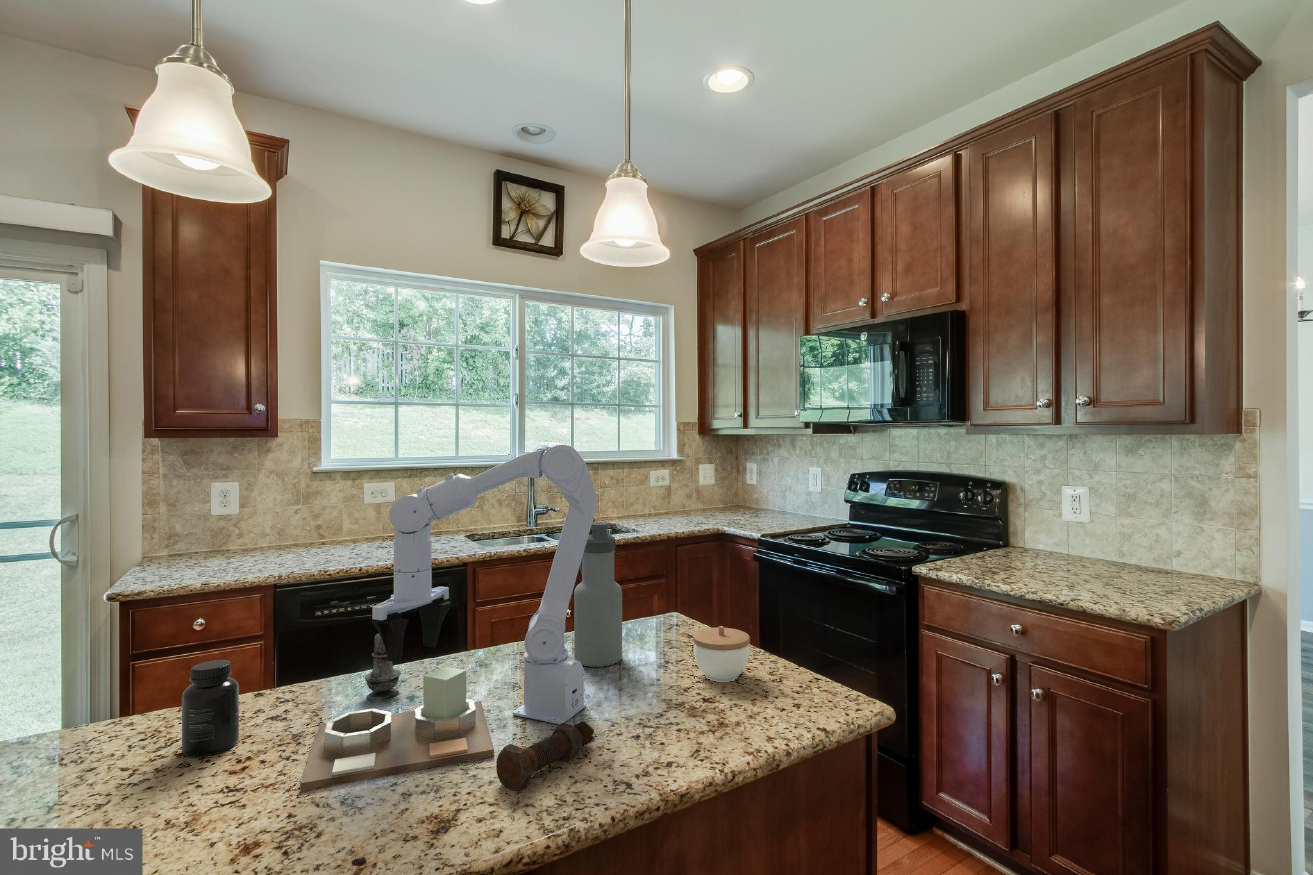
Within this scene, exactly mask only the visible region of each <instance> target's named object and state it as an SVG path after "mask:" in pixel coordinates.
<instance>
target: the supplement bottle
mask: <svg viewBox="0 0 1313 875" xmlns="http://www.w3.org/2000/svg"><path fill="white" fill-rule="evenodd" d="M231 664H232V663H231V661H230V660H228V659H214V660H209V661H204V662H200V663H198V664H195V665H193V666H192V667H191V668H190V677H189V682H190V683H192V684H189V685H188V686H187V687H186V689H185V690H184V691H183V693H182V694H181V752H182V753H183V755H185V756H186V757H188V758H189V757H190V758H201V757H202V758H204V757H207V756H213V755H217V754H219V753H222V752H224V751H226V750H229V749H230V748H232V747H233V746H234V745H236V744H237V742H238V741H239V738H240V737H239V734H240V731H239V729H240V718H239V717H240V716H239V715H240V712H239V711H240V709H239V708H240V702H239V701H240V697H239V696H240V694H239V693H240V692H239V691H240V687H239V682H238V681H237V680H236V679H235V678H233V677H230V676H231V675H232V669H231V668H232V666H231Z"/></svg>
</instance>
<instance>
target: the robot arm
mask: <svg viewBox="0 0 1313 875" xmlns="http://www.w3.org/2000/svg"><path fill="white" fill-rule="evenodd" d="M543 475H544V476H545V477H546V479H547V480H548V481H550V482H551V483H552V484H553V485H554V486H556V487H557V488H558V489H559V490H560V492H561V494H562V496H563V497H564V499H565V500H566V502H567V503H568V508H567V512H566V515H565V518H564V522H563V526H562V530H561V533H560V536H559V540H558V542H557V547H556V550H555V554H554V557H553V560H552V564H551V568H550V571H549V575H548V578H547V582H546V584H545V585H546V586H545V589H544V592H543V595H542V598H541V601H540V606H539V607H538V609H537V611H536V612H535V613H534V614H533V615H532V616H531V618H530V620H529V623H528V630H527V632H526V634H525V637H524V650H525V652H524V653H523V704H522V705H521V706H519V707H517V708H516V709H514V710H513V711H512V715H513V716H517V717H523V718H527V719H532V720H536V721H543V722H546V723H550V724H555V725H559V724H561V723H567V721H568V720H570V719H571V718H572V717H574V716H575V715H576V714H578V713H579V712H580V711H581V710H583V709H584V708H585V707H587V703H586V702H585V683H584V682H585V673H584V666H583V665H582V664H581V662H579V661H577V660H575V658H572V657H571V656H570V655H569V651H568V649H567V648H566V647H565V642H566V641H565V632H566V620H567V619H566V618H567V616H568V615H567V614H568V610H569V604H570V601H571V598H572V594H573V591H574V589H575V588H574V587H575V584H576V581H577V576H578V573H579V571H580V563H581V560H582V556H583V553H584V549H585V546H586V542H587V539H588V535H589V532H590V528H591V525H592V522H594V517H595V514H596V510H597V507H598V503H599V502H598V501H599V497H598V495H597V492H596V489H595V486H594V483H593V481H592V477H591V475H590V471H589V468H588V465H587V463H586V461H585V460H584V459H583V457H582V456H581V455H580V453H579V452H578V451H577V450H576V448H574V447H573V446H571V445H568V444H564V443H563V444H555V445H553V446H550V447H549V448H542V449H538V450H534V451H530V452H527V453H522V454H520V455H518V456H515V457H514V458H511V459H510V460H507V461H505V462H502V463H500V464H498V465H496V466H494V467H492V468H490V469H487V470H485V471H483V472H481V473H479V474H477V475H475V476H472V477H471V476H468V475H465V474H462V473H458V474H456V475H455V474H454V473H452V472H451V473H448V474H446V475H444V476H443V478H444V480H442V481H439V482H436V483H434V484H432V485H430V486H428V487H424V486H421V487H417V488H416V493H414V494H407V495H403V496H401V497H400V498H399V499H397V500H396V501H394V503H393V504H392V506H391V507H390V509H389V513H388V515H389V516H388V517H389V521H390V523H391V525H392V527H393V530H394V533H393V535H394V536H393V594H391V595H390V598H388V599H387V600H385V601H383V602H380V603H378V604H376V605H373V606H372V610H371V611H372V614H371V615H372V618H371V623H372V625H373V626H374V628H375V629H376V631H377V632H378V633H379V634H380V636H381V638H382V641H383V644H384V646H385V650H386V653H387V657H388V661H392V663H393V662H394V663H400V662H402V659H403V655H404V654H403V651H404V638H405V633H406V628H407V625H408V622H409V618H404V617H401V615H399V614H401V613H403V612H407V611H410V610H413V609H418V613H419V616H420V620H421V621H420V622H421V629H422V630H421V631H422V634H421V636H422V643H423V646H424V647H427V648H434V649H435V648H436V647H437V644H438V640H439V636H440V632H441V630H442V626H443V623H444V621H445V618H446V616H447V614H448V612H449V611H450V609H451V601H449V600H448V599H450V597H449V596H450V592H449V591H450V589H449V588H450V587H448V586H436V587H433V588H432V585H433V584H432V583H433V580H432V578H433V577H432V574H433V573H432V536H431V532H432V530H431V524H432V522H433V521H436V522H439V521H442V520H444V519H446V518H448V517H450V516H453V515H456V514H457V513H459V512H462V511H464V510H467V509H470V508H472V507H474V506H475V504H476V503H477V501H478V500H477V499H478V498H479V495H481V494H483V493H486V492H488V491H490V490H493V489H496V488H498V487H501V486H504V485H506V484H509V483H511V482H513V481H515V480H518V479H521V478H532V479H540V478H542V477H543ZM445 600H446V601H445ZM447 600H448V601H447Z"/></svg>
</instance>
